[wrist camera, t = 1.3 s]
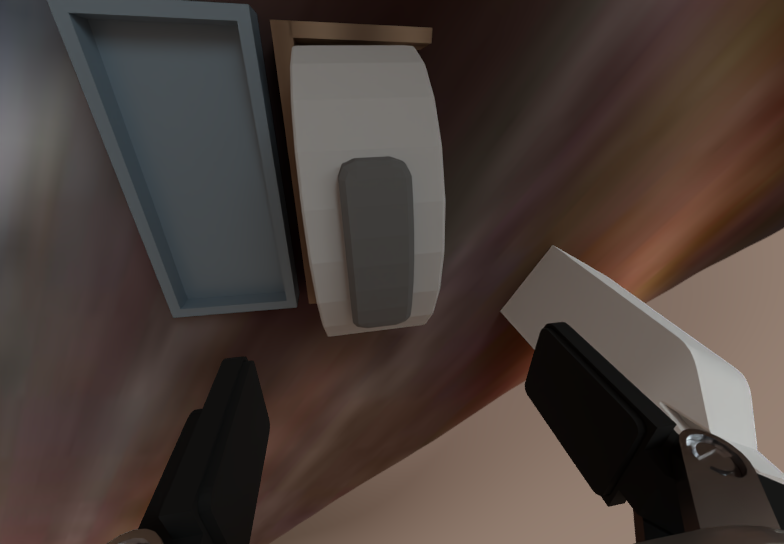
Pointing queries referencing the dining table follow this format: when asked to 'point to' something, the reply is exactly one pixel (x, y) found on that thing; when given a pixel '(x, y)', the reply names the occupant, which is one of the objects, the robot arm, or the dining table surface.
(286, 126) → the walnut stall
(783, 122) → the dining table surface
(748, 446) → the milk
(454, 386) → the dining table surface
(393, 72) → the alarm clock
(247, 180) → the slate tray
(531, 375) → the robot arm
